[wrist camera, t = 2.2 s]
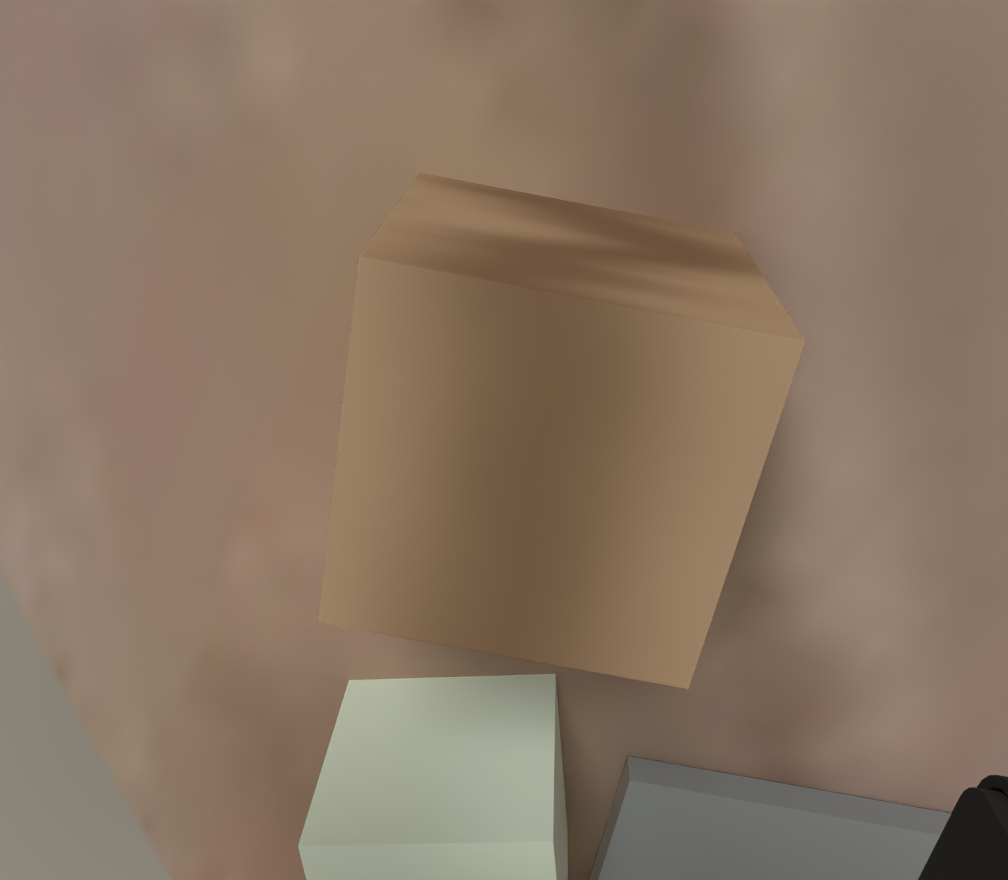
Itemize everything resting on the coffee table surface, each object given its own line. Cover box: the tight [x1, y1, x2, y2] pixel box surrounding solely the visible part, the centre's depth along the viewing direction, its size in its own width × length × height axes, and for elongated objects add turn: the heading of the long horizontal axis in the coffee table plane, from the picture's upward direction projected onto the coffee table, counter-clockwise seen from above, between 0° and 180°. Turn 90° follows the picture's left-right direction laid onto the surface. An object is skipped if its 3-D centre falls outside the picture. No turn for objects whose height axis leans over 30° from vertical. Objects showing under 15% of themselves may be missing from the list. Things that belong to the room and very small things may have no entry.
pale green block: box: [298, 674, 568, 880], centre depth 22 cm, size 5×5×5 cm
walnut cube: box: [318, 173, 805, 689], centre depth 17 cm, size 6×6×6 cm
